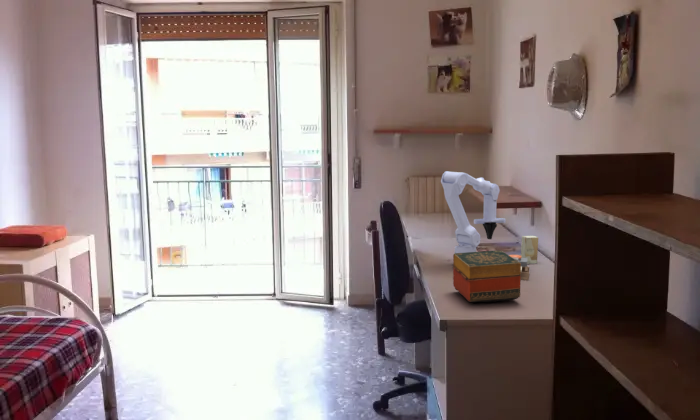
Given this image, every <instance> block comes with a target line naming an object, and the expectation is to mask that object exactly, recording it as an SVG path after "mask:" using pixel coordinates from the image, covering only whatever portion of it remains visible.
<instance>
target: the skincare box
mask: <svg viewBox="0 0 700 420" xmlns="http://www.w3.org/2000/svg"><path fill="white" fill-rule="evenodd" d="M538 250H539V236H535V235H521V245H520V255H521V256H522V258H528V259H527V265H528V264H529V265H530V264H531V265H533V264H535V263H536V264H537V263H538V252H539V251H538ZM536 264H535V265H536Z"/></svg>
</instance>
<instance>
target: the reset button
mask: <svg viewBox="0 0 700 420" xmlns="http://www.w3.org/2000/svg"><path fill="white" fill-rule="evenodd" d="M508 255H509V256H510V257H516V258H518V261H520V259H521V258H522V256H521V254H508Z"/></svg>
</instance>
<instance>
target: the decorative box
mask: <svg viewBox="0 0 700 420" xmlns="http://www.w3.org/2000/svg"><path fill="white" fill-rule="evenodd" d="M509 255H510V254H507V253H506V252H504V251H503V250H500V249H499V250H497V249H496V250H486V251H485V250H483V251H476V252H467V253H455V252H454V253H453V256H452V257H453V259H452V260H453V261H452V263H453V266H452V268H453V269H452V270H453V272H452V274H453V275H452V276H453V277H452V280H453V281H452V282H453V283H452V284H453V287H454V289H455V290H456V291H458V293H459V294H460V295H461V296H462V297H463V298H464V299H466V301H467V302H470V303H495V302H498V301H499V302H500V301H501V302H502V301H506V302H507V301H513V300H517V299H519V298H520V297H521V281H522V280H521V276H520V275H521V263H520V262H518V261H516V260H515V259H514V258H512V257H510V256H509Z"/></svg>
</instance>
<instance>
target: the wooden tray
mask: <svg viewBox="0 0 700 420" xmlns="http://www.w3.org/2000/svg"><path fill="white" fill-rule="evenodd" d="M520 276H521V281H529V280H530V266H528V265H527V266H526V267H522V272H521V275H520Z"/></svg>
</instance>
